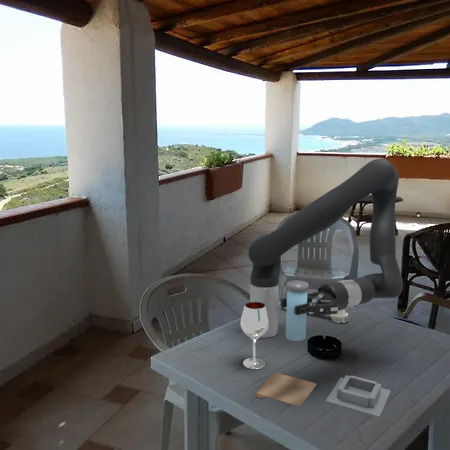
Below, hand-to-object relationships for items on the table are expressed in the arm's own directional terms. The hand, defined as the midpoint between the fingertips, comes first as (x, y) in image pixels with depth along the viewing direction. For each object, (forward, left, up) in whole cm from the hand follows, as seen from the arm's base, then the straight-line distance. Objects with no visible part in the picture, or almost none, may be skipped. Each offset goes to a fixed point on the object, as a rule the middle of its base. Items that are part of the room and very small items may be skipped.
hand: (288, 307), depth 115 cm
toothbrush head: (-12, +54, -24) cm, 61 cm away
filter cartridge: (+1, +2, -8) cm, 9 cm away
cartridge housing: (+17, +8, -24) cm, 30 cm away
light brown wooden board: (0, +2, -24) cm, 24 cm away
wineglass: (-14, +11, -24) cm, 30 cm away
